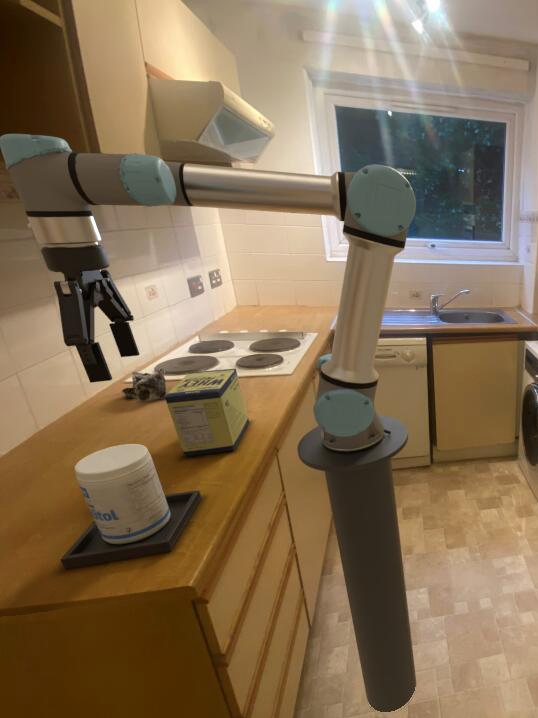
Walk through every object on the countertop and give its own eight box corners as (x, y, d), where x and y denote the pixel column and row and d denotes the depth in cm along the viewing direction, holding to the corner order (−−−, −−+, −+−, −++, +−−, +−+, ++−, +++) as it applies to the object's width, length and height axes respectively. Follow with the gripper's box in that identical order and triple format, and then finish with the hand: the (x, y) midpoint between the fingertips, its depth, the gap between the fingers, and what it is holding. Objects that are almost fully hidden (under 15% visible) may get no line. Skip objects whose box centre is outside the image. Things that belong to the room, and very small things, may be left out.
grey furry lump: (181, 371, 139) (158, 360, 125) (180, 404, 138) (157, 397, 123) (137, 373, 136) (108, 362, 122) (136, 407, 134) (107, 400, 120)
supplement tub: (88, 545, 73) (53, 472, 67) (136, 508, 82) (108, 441, 76) (143, 548, 73) (113, 475, 67) (185, 511, 82) (161, 443, 76)
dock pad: (201, 498, 86) (199, 489, 85) (171, 551, 73) (167, 541, 72) (113, 511, 82) (109, 502, 81) (65, 569, 69) (60, 559, 68)
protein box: (250, 421, 116) (236, 367, 110) (235, 451, 102) (218, 391, 96) (205, 427, 113) (188, 371, 107) (183, 458, 99) (163, 396, 93)
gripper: (77, 239, 79) (117, 349, 87) (-9, 253, 58) (55, 397, 66) (128, 238, 82) (162, 345, 90) (64, 252, 61) (116, 390, 69)
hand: (117, 367), depth 78 cm, fingers open, 13 cm apart
